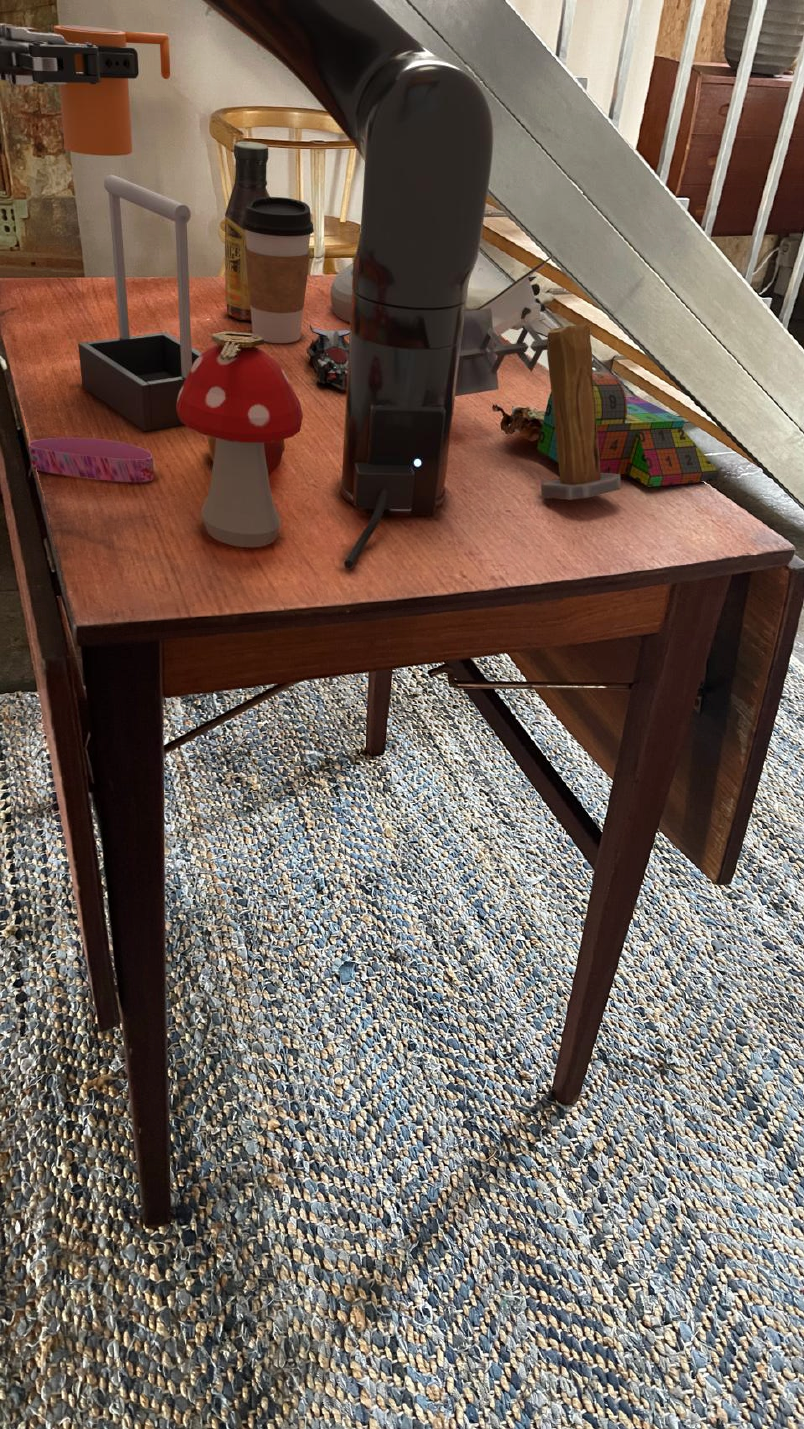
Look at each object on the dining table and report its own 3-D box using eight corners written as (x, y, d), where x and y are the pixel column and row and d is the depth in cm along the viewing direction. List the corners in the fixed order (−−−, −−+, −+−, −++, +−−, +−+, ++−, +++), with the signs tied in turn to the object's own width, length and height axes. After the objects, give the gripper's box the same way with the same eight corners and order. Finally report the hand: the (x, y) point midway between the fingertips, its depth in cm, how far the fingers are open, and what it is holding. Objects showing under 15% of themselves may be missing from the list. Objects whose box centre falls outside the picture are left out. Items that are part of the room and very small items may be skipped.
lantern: (380, 492, 112) (572, 501, 89) (358, 328, 107) (557, 291, 83) (436, 480, 116) (634, 485, 92) (417, 321, 111) (623, 284, 87)
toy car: (354, 359, 122) (356, 324, 120) (371, 394, 113) (373, 356, 110) (303, 358, 121) (304, 322, 118) (316, 393, 111) (318, 355, 109)
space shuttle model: (457, 319, 114) (510, 393, 116) (564, 239, 127) (609, 306, 130) (383, 384, 126) (431, 450, 129) (487, 305, 140) (530, 365, 142)
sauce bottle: (222, 309, 134) (218, 137, 122) (268, 309, 136) (270, 140, 124) (230, 324, 129) (228, 146, 117) (279, 324, 131) (281, 149, 119)
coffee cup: (315, 330, 130) (320, 201, 121) (304, 350, 123) (307, 214, 114) (250, 323, 130) (250, 193, 121) (235, 341, 123) (233, 206, 115)
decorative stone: (494, 289, 134) (490, 250, 130) (373, 338, 129) (365, 298, 125) (423, 259, 146) (417, 222, 143) (310, 302, 141) (301, 265, 138)
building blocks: (602, 490, 94) (627, 399, 89) (536, 450, 100) (556, 362, 96) (716, 480, 101) (745, 395, 96) (647, 443, 108) (671, 361, 103)
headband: (40, 430, 91) (43, 454, 92) (23, 446, 88) (26, 470, 89) (160, 446, 91) (161, 469, 92) (147, 462, 88) (148, 486, 89)
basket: (234, 415, 104) (231, 202, 92) (144, 431, 99) (129, 207, 87) (168, 373, 112) (158, 173, 101) (82, 386, 107) (60, 176, 95)
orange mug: (82, 156, 88) (71, 30, 83) (54, 144, 91) (42, 23, 86) (187, 155, 93) (184, 37, 88) (157, 144, 97) (152, 30, 92)
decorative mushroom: (157, 532, 82) (145, 341, 73) (225, 497, 88) (222, 318, 79) (257, 571, 78) (258, 375, 69) (321, 532, 84) (329, 347, 75)
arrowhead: (376, 277, 143) (540, 272, 149) (375, 302, 145) (537, 296, 151) (402, 304, 134) (575, 297, 140) (400, 331, 136) (571, 323, 142)
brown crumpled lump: (522, 388, 110) (539, 443, 112) (480, 409, 101) (500, 469, 102) (581, 368, 106) (598, 425, 108) (544, 387, 97) (562, 450, 99)
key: (200, 358, 68) (200, 352, 68) (214, 335, 75) (214, 330, 75) (257, 362, 69) (257, 356, 68) (265, 339, 76) (265, 334, 75)
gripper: (-59, 0, 73) (156, 14, 82) (-121, -16, 81) (79, -1, 91) (-41, 120, 77) (161, 121, 86) (-102, 93, 86) (87, 97, 95)
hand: (118, 58), depth 88 cm, fingers closed on orange mug, 5 cm apart
